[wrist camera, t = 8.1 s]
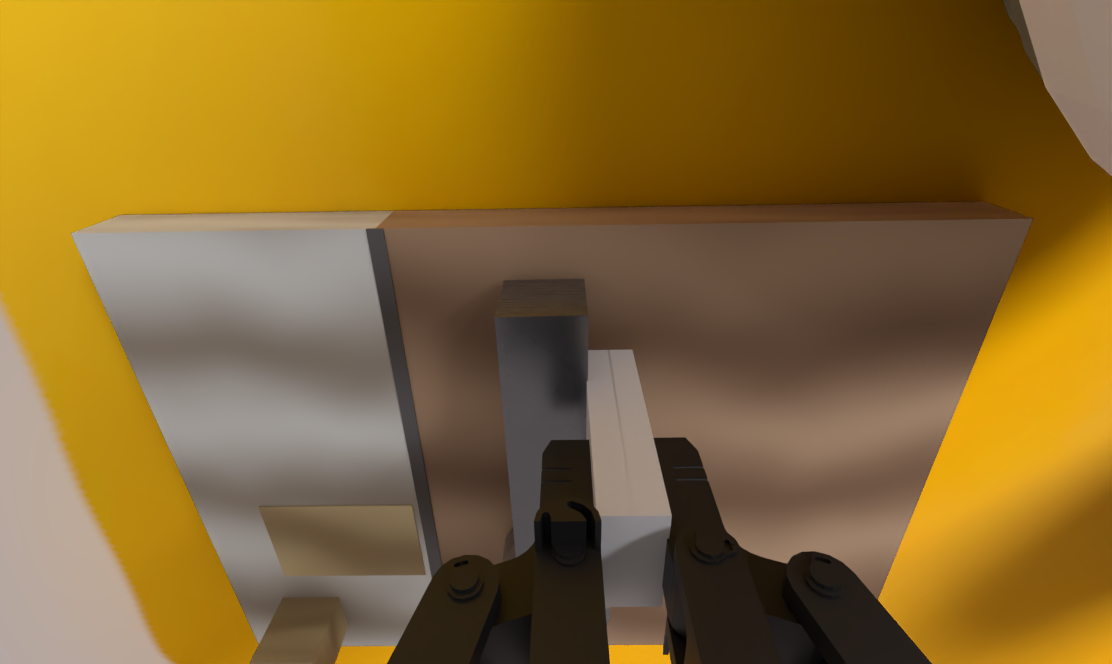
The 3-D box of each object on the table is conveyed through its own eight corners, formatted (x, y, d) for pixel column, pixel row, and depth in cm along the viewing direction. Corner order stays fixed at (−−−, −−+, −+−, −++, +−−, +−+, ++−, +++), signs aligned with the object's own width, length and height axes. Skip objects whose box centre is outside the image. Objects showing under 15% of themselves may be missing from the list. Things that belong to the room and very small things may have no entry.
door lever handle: (603, 580, 22) (609, 647, 20) (507, 582, 22) (501, 648, 20) (611, 278, 16) (620, 319, 13) (476, 280, 16) (461, 323, 13)
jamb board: (120, 215, 17) (-22, 267, 13) (983, 201, 17) (1125, 251, 13) (279, 607, 27) (226, 711, 22) (839, 603, 26) (893, 710, 22)
